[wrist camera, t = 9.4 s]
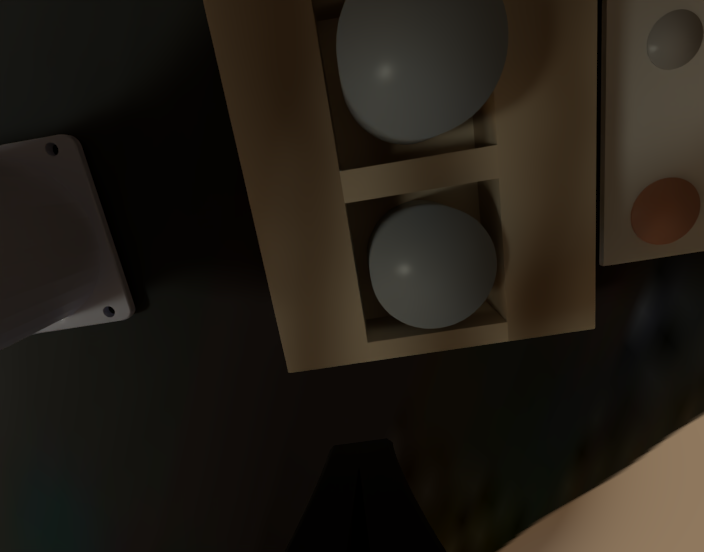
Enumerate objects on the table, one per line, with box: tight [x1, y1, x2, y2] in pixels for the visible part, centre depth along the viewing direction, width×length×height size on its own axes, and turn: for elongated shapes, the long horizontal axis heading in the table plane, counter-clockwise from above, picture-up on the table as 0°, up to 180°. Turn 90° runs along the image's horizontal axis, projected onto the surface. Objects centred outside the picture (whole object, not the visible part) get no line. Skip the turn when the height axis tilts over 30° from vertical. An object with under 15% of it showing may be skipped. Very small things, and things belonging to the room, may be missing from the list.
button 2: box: [336, 0, 508, 145], centre depth 11 cm, size 4×4×3 cm
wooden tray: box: [203, 0, 597, 373], centre depth 14 cm, size 12×20×3 cm, turn 9°
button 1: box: [367, 200, 497, 329], centre depth 15 cm, size 4×4×3 cm
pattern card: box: [599, 0, 704, 266], centre depth 14 cm, size 5×17×1 cm, turn 9°
